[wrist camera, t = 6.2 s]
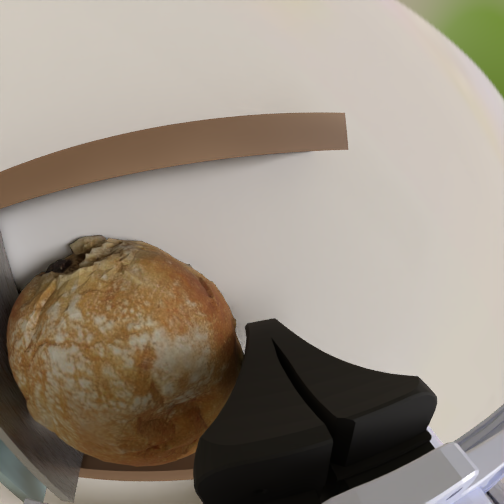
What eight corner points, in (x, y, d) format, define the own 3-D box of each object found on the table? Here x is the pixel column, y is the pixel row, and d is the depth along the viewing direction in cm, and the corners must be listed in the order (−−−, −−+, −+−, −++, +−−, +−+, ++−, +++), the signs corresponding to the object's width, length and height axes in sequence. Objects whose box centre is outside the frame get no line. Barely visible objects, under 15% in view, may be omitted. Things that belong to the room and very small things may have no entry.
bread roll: (185, 209, 15) (111, 145, 7) (287, 385, 14) (308, 481, 6) (53, 300, 15) (-51, 306, 7) (138, 448, 14) (75, 527, 6)
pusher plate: (89, 431, 14) (73, 502, 8) (78, 431, 13) (61, 500, 8) (-3, 218, 9) (-83, 256, 4) (-13, 222, 9) (-92, 260, 4)
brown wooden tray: (317, 415, 16) (353, 489, 11) (43, 438, 14) (23, 502, 8) (310, 122, 11) (402, 99, 6) (-60, 208, 8) (-133, 238, 3)
